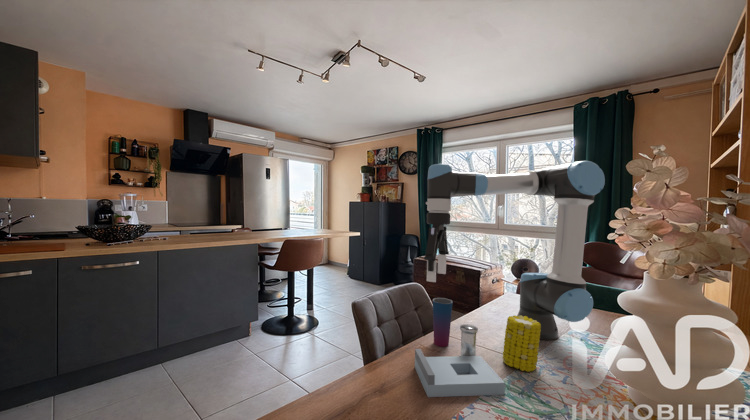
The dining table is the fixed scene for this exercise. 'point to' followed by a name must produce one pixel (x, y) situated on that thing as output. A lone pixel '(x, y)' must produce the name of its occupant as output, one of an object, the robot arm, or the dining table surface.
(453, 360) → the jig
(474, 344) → the silver metal cylinder
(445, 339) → the cup
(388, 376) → the dining table surface
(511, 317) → the food
